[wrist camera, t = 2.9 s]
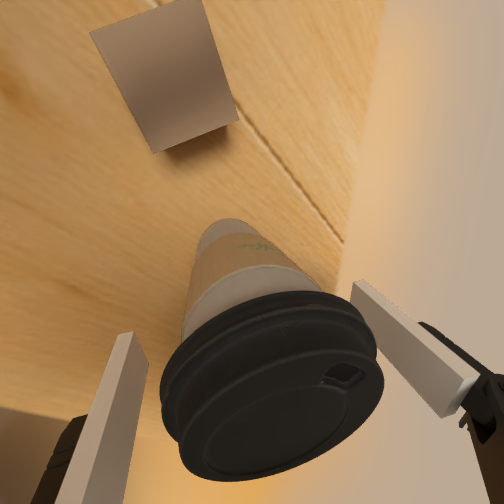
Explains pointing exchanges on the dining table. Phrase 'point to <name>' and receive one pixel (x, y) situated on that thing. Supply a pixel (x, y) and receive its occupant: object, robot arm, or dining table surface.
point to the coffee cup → (263, 363)
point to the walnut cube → (168, 72)
